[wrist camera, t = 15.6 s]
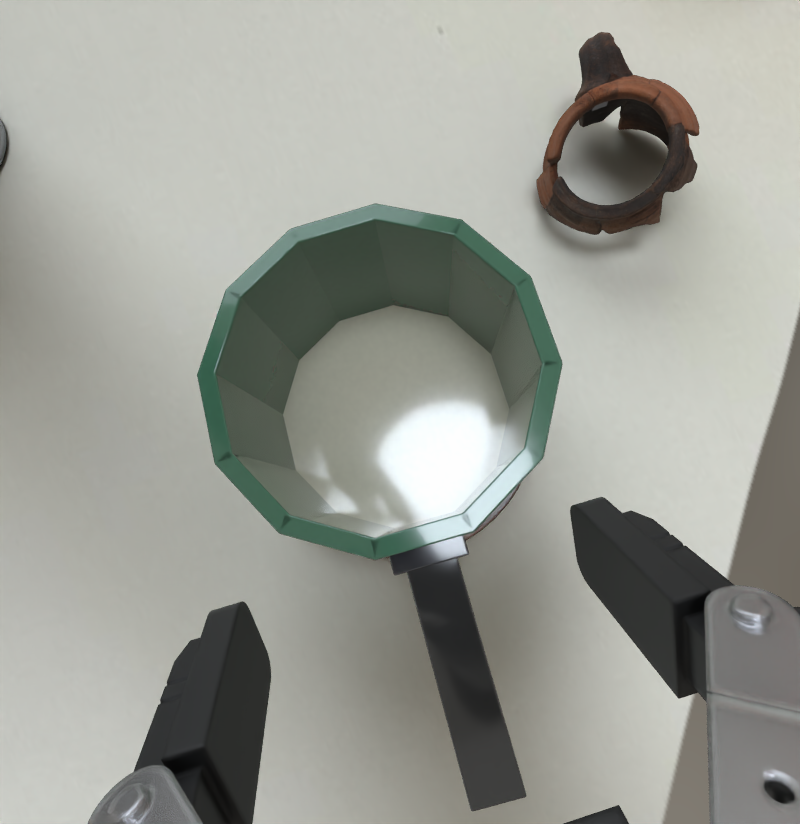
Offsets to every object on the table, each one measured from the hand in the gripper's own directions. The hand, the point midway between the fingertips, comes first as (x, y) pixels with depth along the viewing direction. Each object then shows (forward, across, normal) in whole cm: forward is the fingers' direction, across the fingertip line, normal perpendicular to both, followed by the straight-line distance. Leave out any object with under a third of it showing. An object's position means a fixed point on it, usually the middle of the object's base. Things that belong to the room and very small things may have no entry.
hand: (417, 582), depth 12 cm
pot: (+16, -1, +6) cm, 17 cm away
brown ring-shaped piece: (+25, -20, -8) cm, 33 cm away
